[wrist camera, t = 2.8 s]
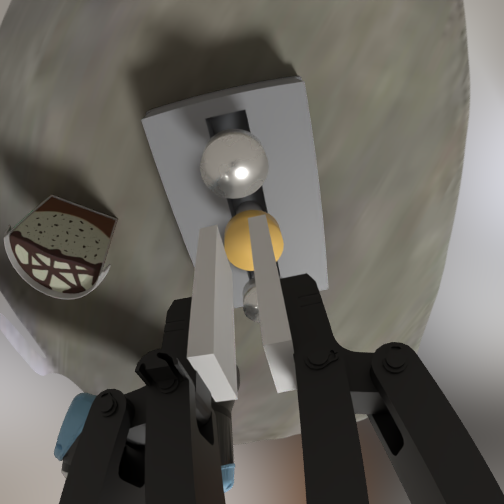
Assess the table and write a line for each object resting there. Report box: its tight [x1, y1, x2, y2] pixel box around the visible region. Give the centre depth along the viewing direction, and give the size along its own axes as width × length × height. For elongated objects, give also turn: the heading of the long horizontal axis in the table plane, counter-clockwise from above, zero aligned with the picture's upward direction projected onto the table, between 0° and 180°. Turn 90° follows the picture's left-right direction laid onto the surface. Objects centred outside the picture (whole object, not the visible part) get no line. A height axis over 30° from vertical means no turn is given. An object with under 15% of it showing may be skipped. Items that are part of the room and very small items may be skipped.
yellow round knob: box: [224, 201, 284, 271], centre depth 28 cm, size 5×5×6 cm
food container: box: [4, 195, 118, 299], centre depth 31 cm, size 12×6×10 cm, turn 64°
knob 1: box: [200, 129, 269, 199], centre depth 24 cm, size 5×5×6 cm
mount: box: [141, 76, 328, 308], centre depth 32 cm, size 15×23×6 cm, turn 12°
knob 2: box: [242, 271, 283, 323], centre depth 32 cm, size 5×5×6 cm
